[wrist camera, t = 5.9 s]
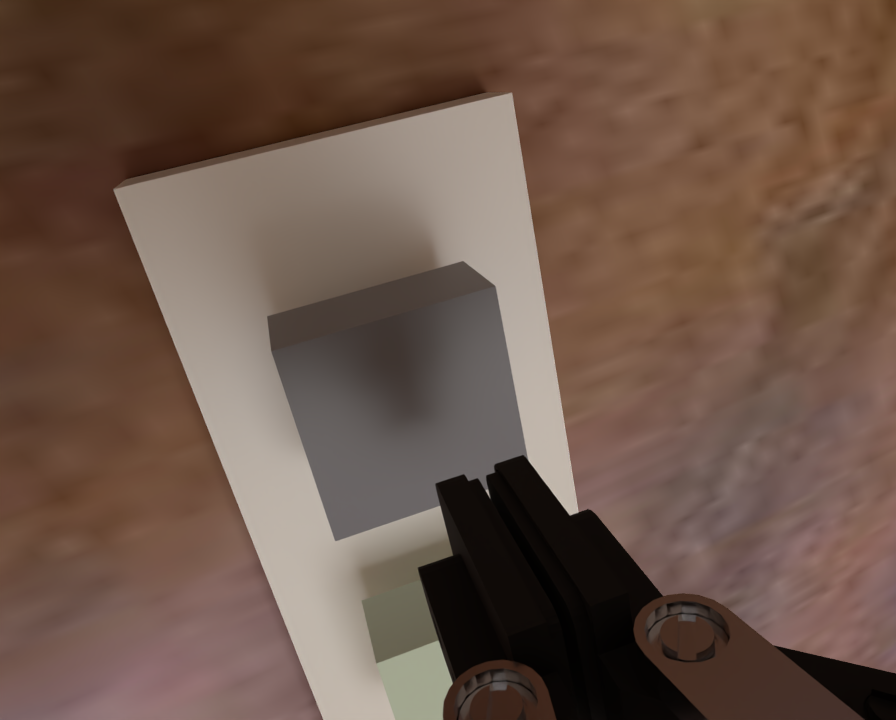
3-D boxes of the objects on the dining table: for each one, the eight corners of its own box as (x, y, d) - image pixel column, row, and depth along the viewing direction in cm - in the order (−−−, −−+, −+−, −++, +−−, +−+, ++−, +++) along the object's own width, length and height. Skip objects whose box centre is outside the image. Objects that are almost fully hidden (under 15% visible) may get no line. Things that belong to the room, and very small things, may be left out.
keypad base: (125, 179, 18) (113, 189, 16) (487, 92, 20) (512, 92, 18) (395, 876, 30) (404, 925, 29) (606, 785, 32) (628, 827, 30)
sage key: (361, 600, 21) (376, 663, 18) (520, 543, 21) (553, 597, 19) (400, 718, 23) (418, 788, 20) (545, 662, 23) (577, 723, 21)
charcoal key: (267, 316, 17) (270, 350, 15) (463, 260, 18) (495, 286, 16) (323, 487, 19) (335, 541, 17) (497, 430, 20) (531, 474, 18)
